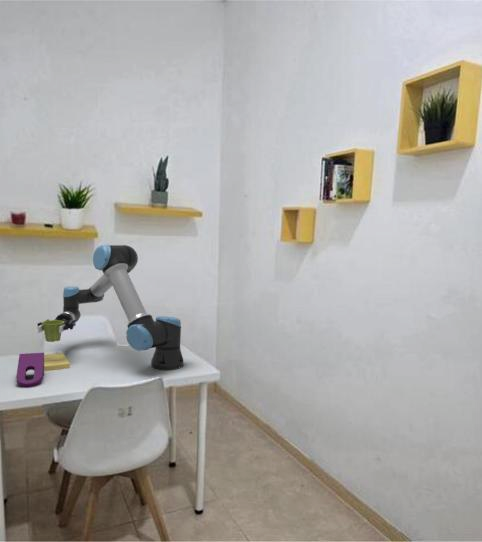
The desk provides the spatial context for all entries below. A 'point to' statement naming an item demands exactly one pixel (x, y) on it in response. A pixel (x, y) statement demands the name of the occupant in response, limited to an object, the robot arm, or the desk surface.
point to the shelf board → (55, 361)
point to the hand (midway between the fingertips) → (49, 329)
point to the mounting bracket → (30, 363)
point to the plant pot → (52, 330)
